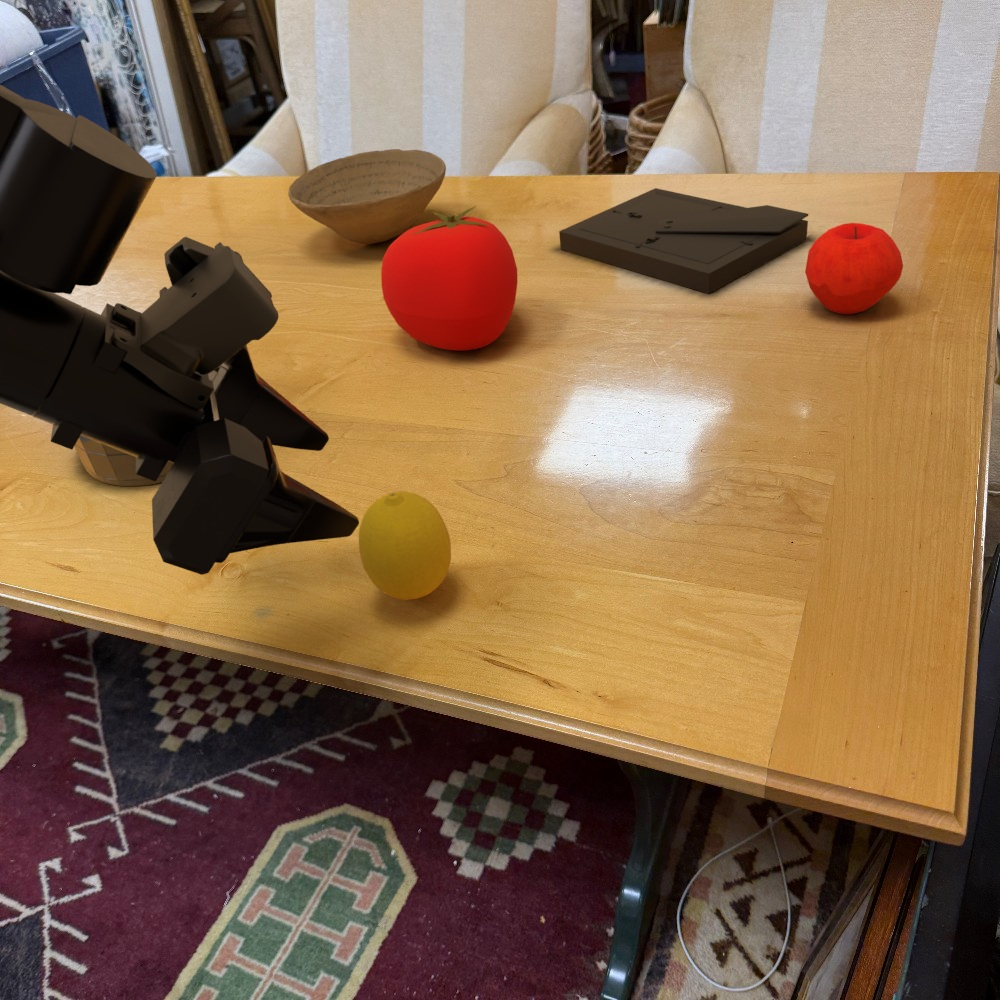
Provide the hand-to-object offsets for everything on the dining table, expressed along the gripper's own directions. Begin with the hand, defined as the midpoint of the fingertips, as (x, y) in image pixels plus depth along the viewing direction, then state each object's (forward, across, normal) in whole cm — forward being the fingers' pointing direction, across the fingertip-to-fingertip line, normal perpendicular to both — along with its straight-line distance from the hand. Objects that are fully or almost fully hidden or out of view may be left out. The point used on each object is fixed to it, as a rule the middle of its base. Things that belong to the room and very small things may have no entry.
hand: (339, 482), depth 52 cm
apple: (+42, +20, -27) cm, 53 cm away
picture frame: (+38, +41, -23) cm, 61 cm away
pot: (-1, +30, +15) cm, 33 cm away
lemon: (+9, 0, +5) cm, 10 cm away
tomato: (+18, +34, -4) cm, 39 cm away
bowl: (+18, +65, -3) cm, 67 cm away
